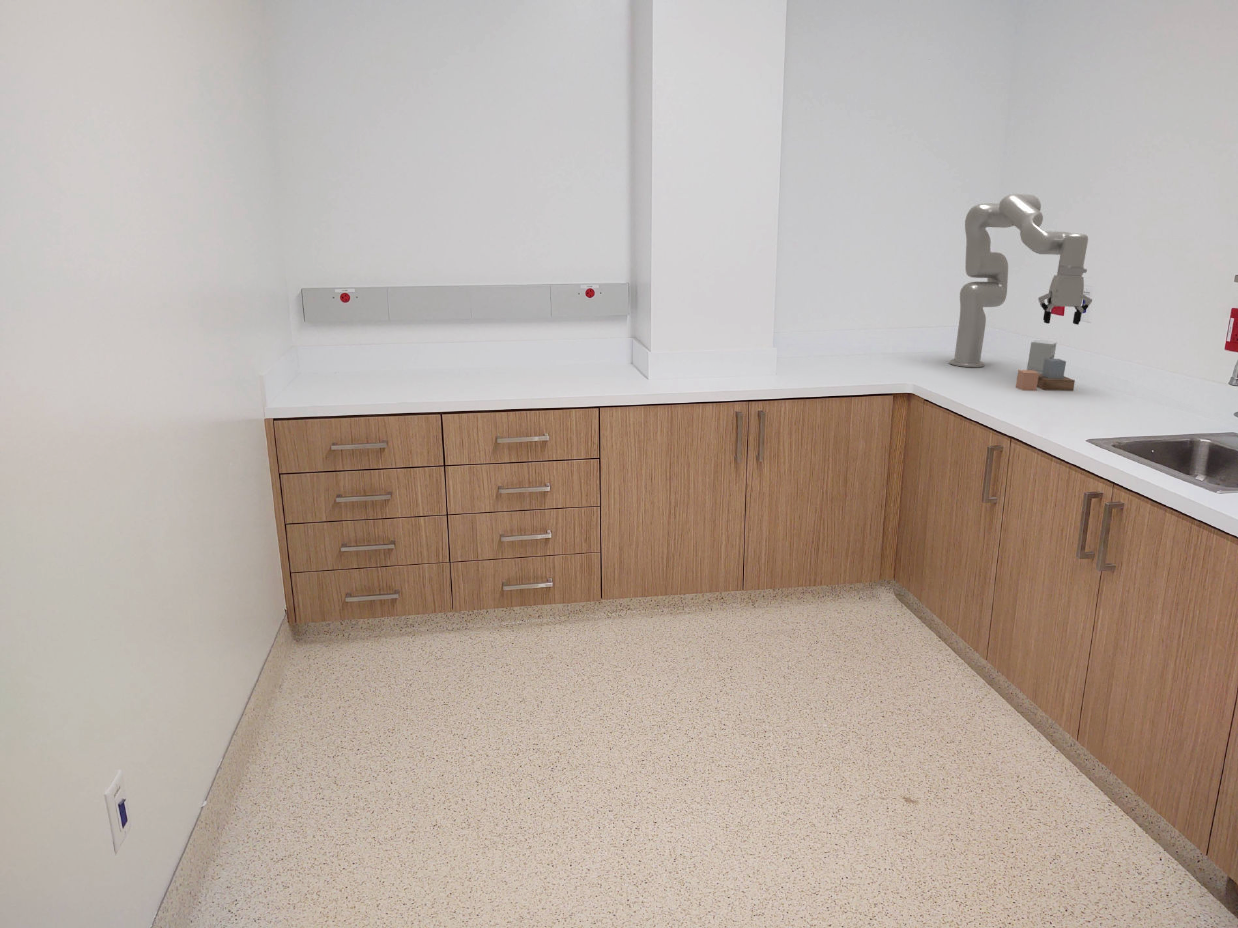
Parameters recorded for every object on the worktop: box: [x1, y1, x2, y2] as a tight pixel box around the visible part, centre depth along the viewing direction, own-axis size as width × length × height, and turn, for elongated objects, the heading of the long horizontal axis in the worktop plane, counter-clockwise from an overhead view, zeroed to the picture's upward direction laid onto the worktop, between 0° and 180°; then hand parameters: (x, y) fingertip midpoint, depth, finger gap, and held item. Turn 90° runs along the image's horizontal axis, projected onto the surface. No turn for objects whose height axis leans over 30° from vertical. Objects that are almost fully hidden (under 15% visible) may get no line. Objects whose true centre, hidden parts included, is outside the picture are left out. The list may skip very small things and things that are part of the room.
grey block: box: [1042, 358, 1067, 379], centre depth 313 cm, size 5×5×6 cm
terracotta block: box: [1015, 369, 1039, 391], centre depth 311 cm, size 5×5×6 cm
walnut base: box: [1037, 374, 1076, 392], centre depth 315 cm, size 10×10×4 cm
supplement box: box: [1026, 340, 1057, 374], centre depth 334 cm, size 7×7×13 cm
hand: (1061, 323), depth 309 cm, fingers open, 9 cm apart
